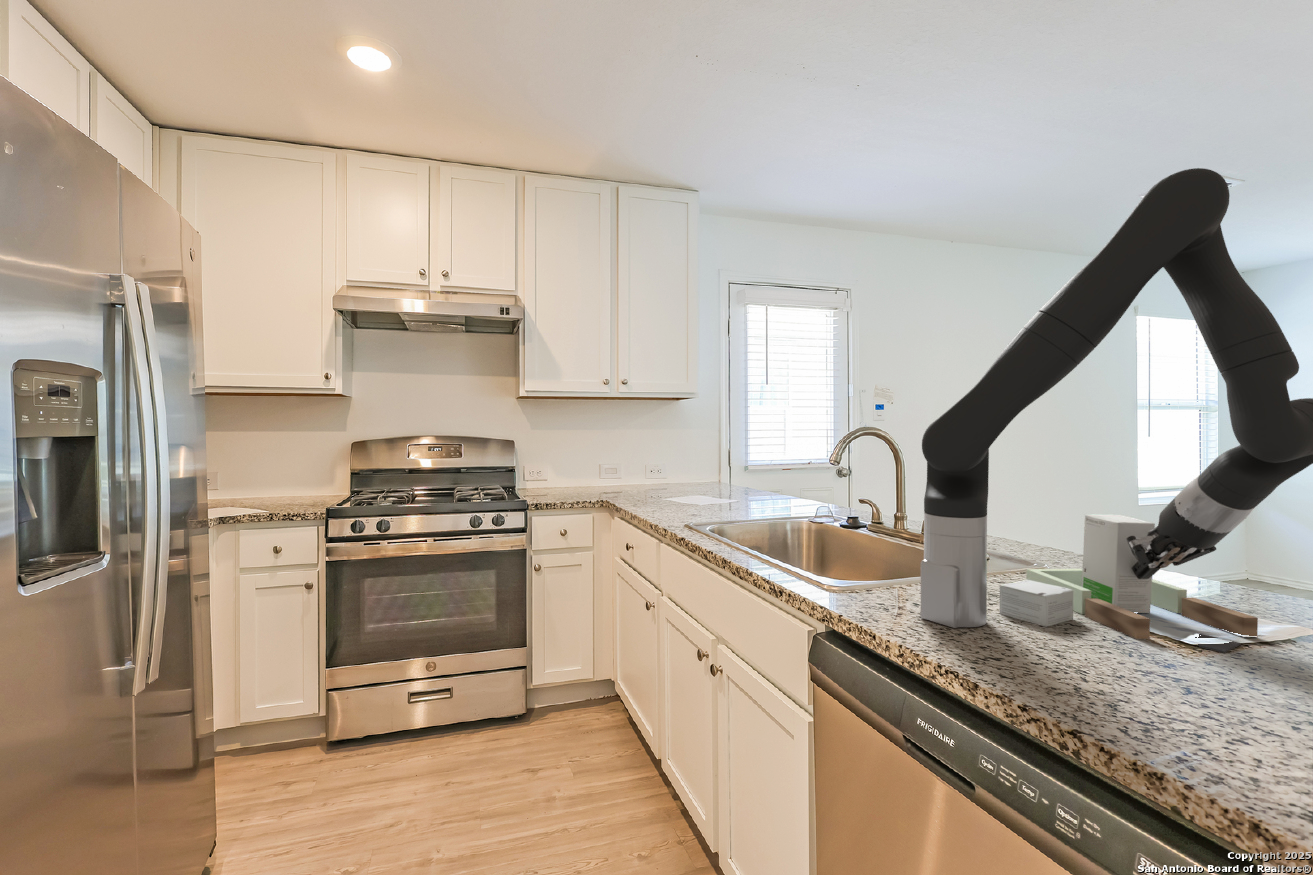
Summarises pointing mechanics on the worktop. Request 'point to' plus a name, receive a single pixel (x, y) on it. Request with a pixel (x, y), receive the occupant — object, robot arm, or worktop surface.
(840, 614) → the worktop surface
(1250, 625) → the channel
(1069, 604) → the small box
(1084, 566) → the skincare box
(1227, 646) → the pit mat
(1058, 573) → the corral
